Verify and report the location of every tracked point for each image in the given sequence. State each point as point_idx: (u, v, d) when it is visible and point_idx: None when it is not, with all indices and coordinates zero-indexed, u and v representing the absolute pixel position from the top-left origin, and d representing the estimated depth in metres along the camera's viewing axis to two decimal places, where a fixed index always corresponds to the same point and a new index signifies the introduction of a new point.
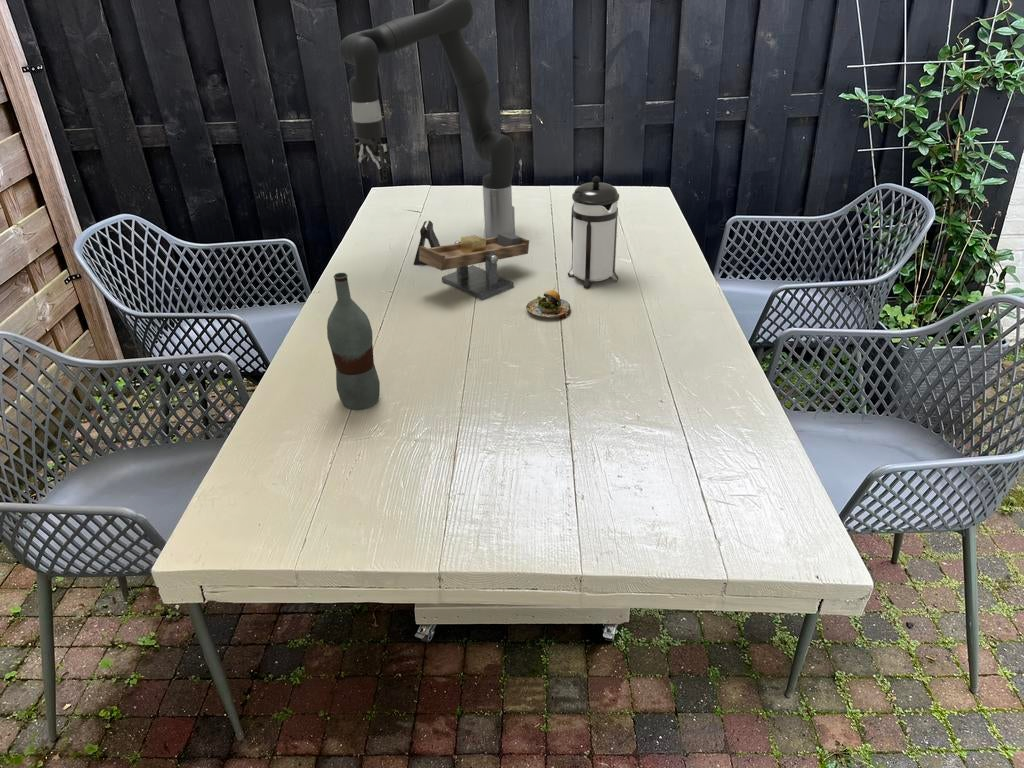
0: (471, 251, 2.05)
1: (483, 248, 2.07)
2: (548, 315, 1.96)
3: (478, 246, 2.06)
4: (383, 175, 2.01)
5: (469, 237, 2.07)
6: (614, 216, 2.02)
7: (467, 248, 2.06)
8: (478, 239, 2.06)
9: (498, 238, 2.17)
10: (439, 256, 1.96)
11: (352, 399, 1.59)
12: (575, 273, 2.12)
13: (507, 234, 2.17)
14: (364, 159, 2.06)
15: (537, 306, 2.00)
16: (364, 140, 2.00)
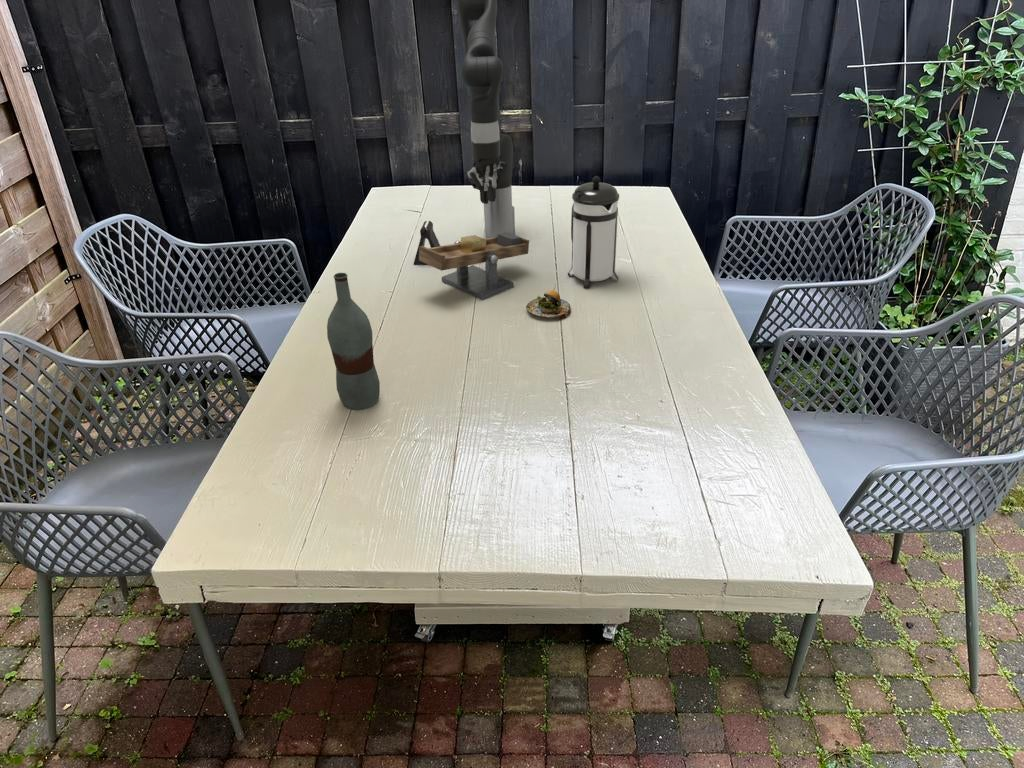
0: (471, 251, 2.05)
1: (483, 248, 2.07)
2: (548, 315, 1.96)
3: (478, 246, 2.06)
4: None
5: (469, 237, 2.07)
6: (614, 216, 2.02)
7: (467, 248, 2.06)
8: (478, 239, 2.06)
9: (498, 238, 2.17)
10: (439, 256, 1.96)
11: (352, 399, 1.59)
12: (575, 273, 2.12)
13: (507, 234, 2.17)
14: None
15: (537, 306, 2.00)
16: (486, 161, 1.98)
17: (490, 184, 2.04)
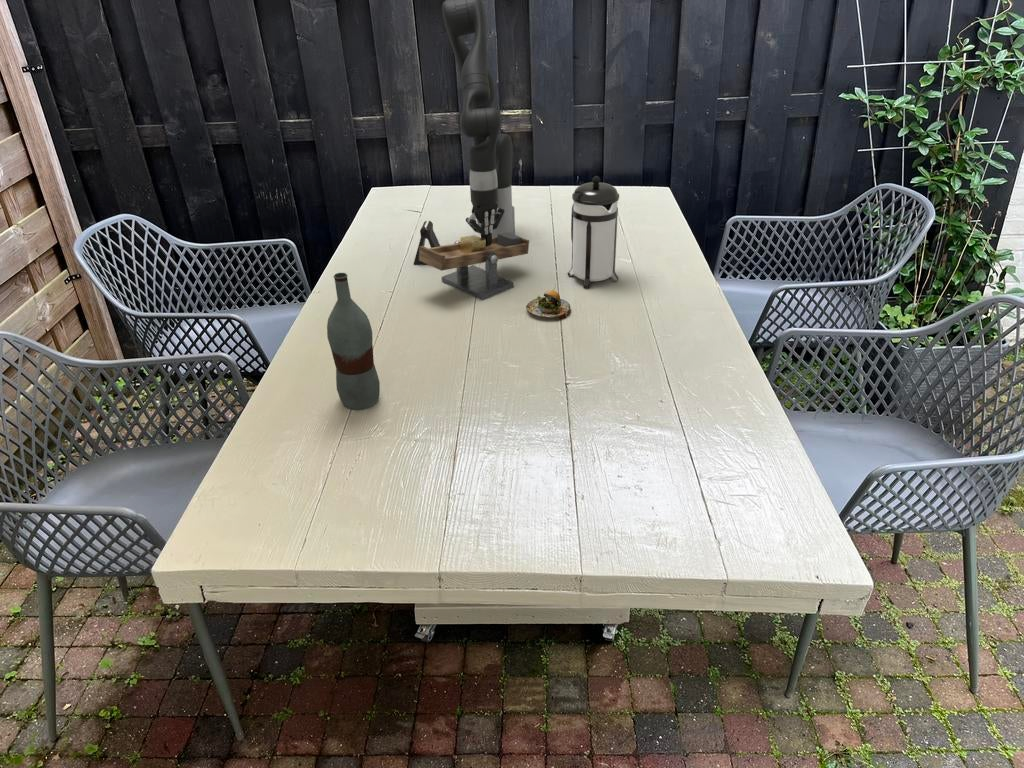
0: (471, 251, 2.05)
1: (483, 248, 2.07)
2: (548, 315, 1.96)
3: (477, 246, 2.06)
4: None
5: (468, 237, 2.07)
6: (614, 216, 2.02)
7: (467, 248, 2.06)
8: (478, 239, 2.06)
9: (498, 238, 2.17)
10: (439, 256, 1.96)
11: (352, 399, 1.59)
12: (575, 273, 2.12)
13: (507, 234, 2.17)
14: None
15: (537, 306, 2.00)
16: (484, 207, 2.04)
17: None
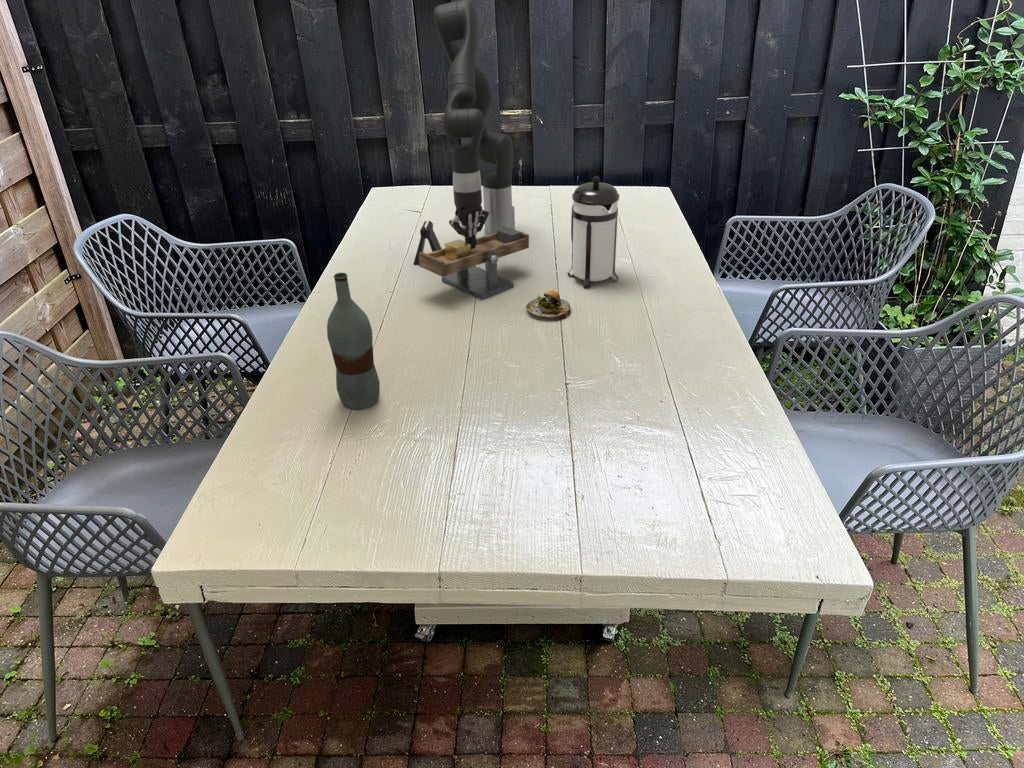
0: (456, 257, 2.02)
1: (468, 253, 2.04)
2: (548, 315, 1.96)
3: (462, 251, 2.02)
4: None
5: (453, 243, 2.04)
6: (614, 216, 2.02)
7: (452, 255, 2.03)
8: (462, 244, 2.03)
9: (498, 234, 2.16)
10: (438, 262, 1.96)
11: (352, 399, 1.59)
12: (575, 273, 2.12)
13: (506, 229, 2.16)
14: None
15: (537, 306, 2.00)
16: (468, 209, 2.00)
17: None
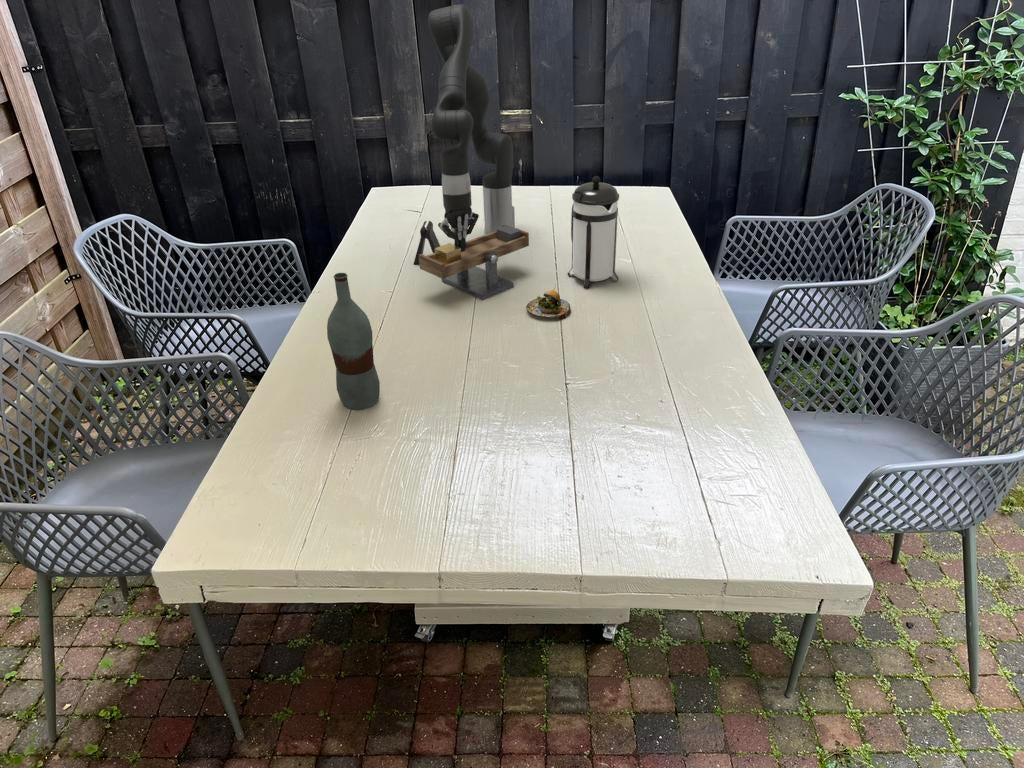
0: (446, 262, 2.00)
1: (458, 257, 2.02)
2: (548, 315, 1.96)
3: (452, 256, 2.01)
4: None
5: (443, 247, 2.02)
6: (614, 216, 2.02)
7: (442, 259, 2.01)
8: (452, 248, 2.01)
9: (497, 233, 2.16)
10: (438, 265, 1.97)
11: (352, 399, 1.59)
12: (575, 273, 2.12)
13: (506, 228, 2.16)
14: None
15: (537, 306, 2.00)
16: (457, 212, 1.98)
17: None
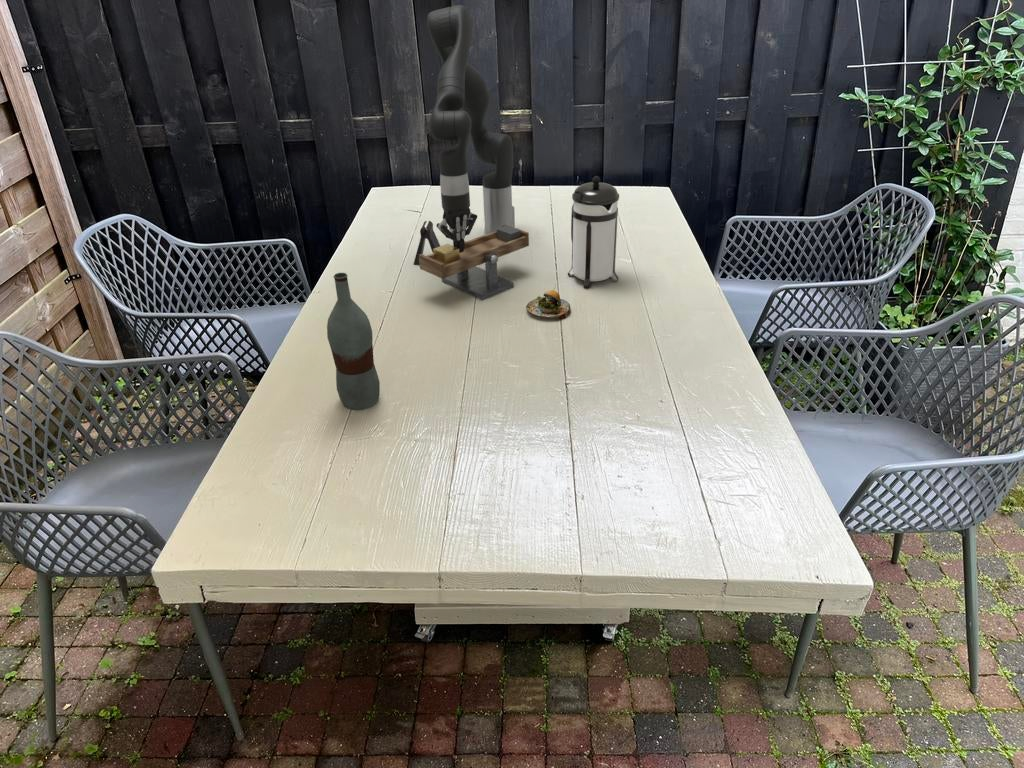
0: (444, 263, 2.00)
1: (457, 257, 2.02)
2: (548, 315, 1.96)
3: (451, 256, 2.00)
4: None
5: (441, 248, 2.02)
6: (614, 216, 2.02)
7: (441, 260, 2.01)
8: (451, 249, 2.01)
9: (497, 233, 2.16)
10: (438, 265, 1.97)
11: (352, 399, 1.59)
12: (575, 273, 2.12)
13: (506, 228, 2.16)
14: None
15: (537, 306, 2.00)
16: (456, 213, 1.97)
17: None
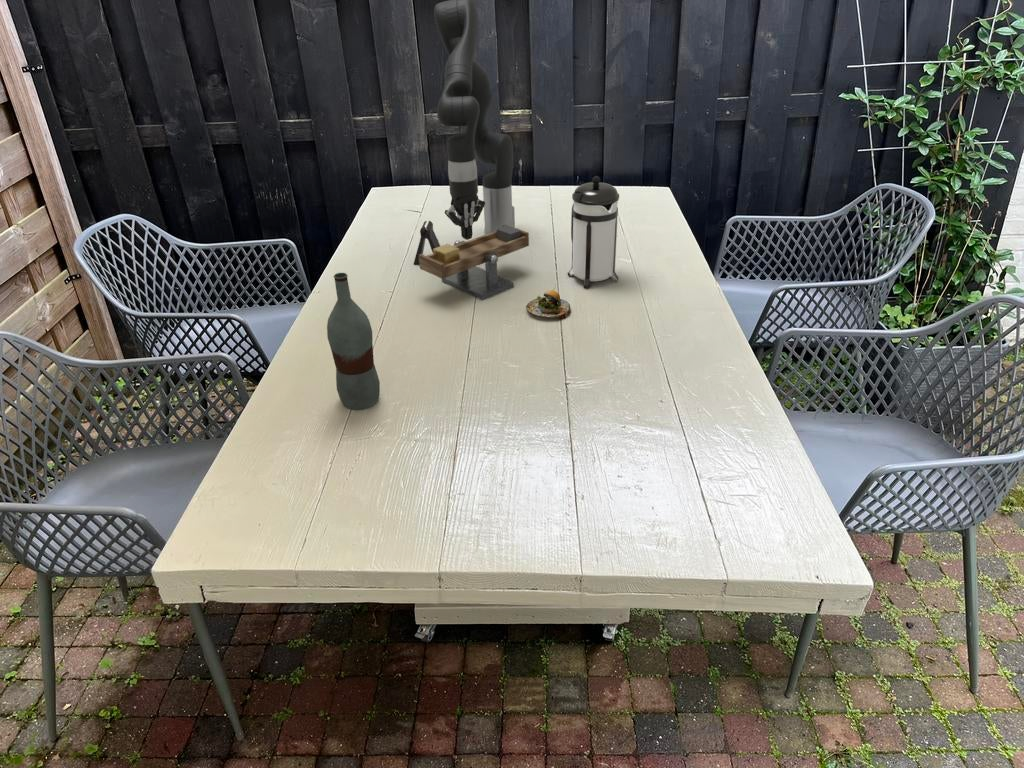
0: (444, 263, 2.00)
1: (457, 257, 2.02)
2: (548, 315, 1.96)
3: (451, 256, 2.00)
4: None
5: (441, 248, 2.02)
6: (614, 216, 2.02)
7: (440, 260, 2.01)
8: (450, 249, 2.01)
9: (497, 233, 2.16)
10: (438, 265, 1.97)
11: (352, 399, 1.59)
12: (575, 273, 2.12)
13: (506, 228, 2.16)
14: None
15: (537, 306, 2.00)
16: (464, 199, 1.97)
17: None
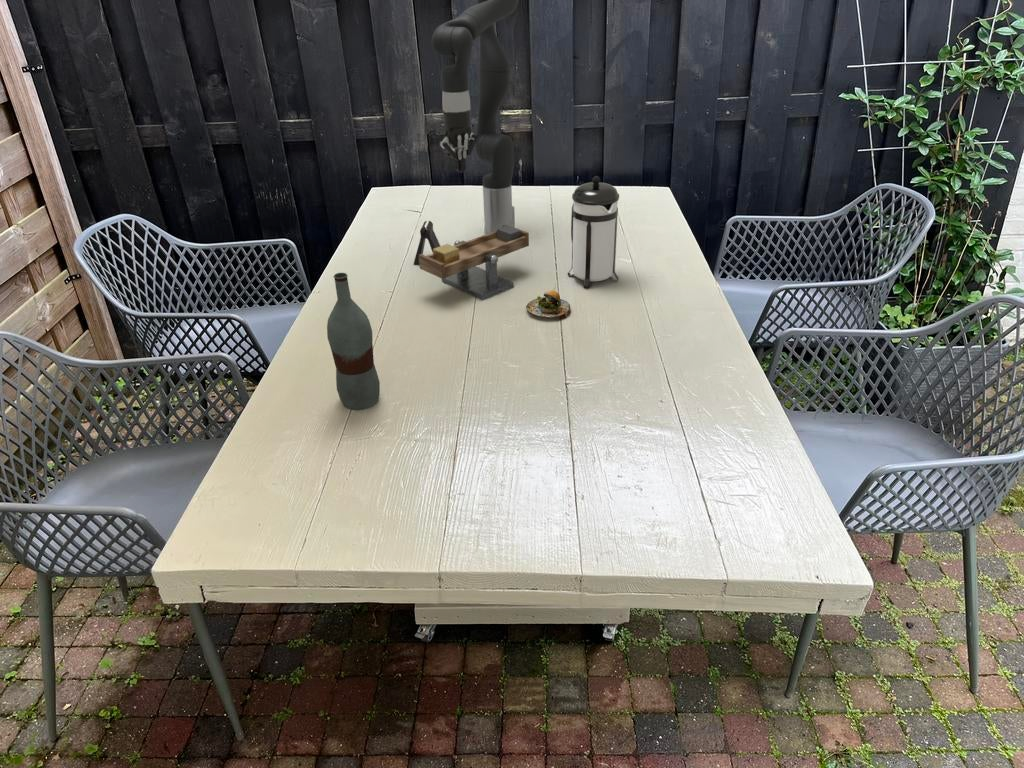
0: (444, 263, 2.00)
1: (457, 257, 2.02)
2: (548, 315, 1.96)
3: (450, 256, 2.00)
4: None
5: (441, 248, 2.02)
6: (614, 216, 2.02)
7: (440, 260, 2.01)
8: (450, 249, 2.01)
9: (497, 233, 2.16)
10: (438, 265, 1.97)
11: (352, 399, 1.59)
12: (575, 273, 2.12)
13: (506, 228, 2.16)
14: None
15: (537, 306, 2.00)
16: (457, 131, 2.03)
17: None
